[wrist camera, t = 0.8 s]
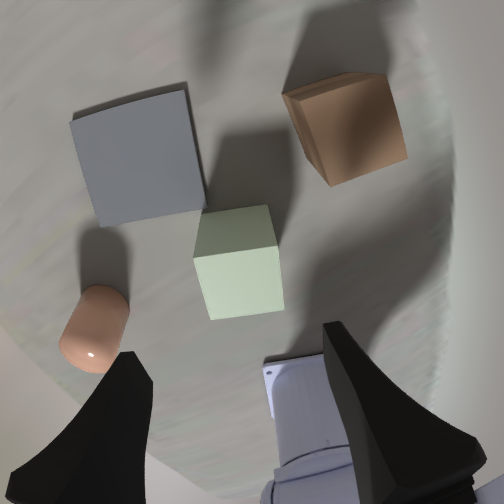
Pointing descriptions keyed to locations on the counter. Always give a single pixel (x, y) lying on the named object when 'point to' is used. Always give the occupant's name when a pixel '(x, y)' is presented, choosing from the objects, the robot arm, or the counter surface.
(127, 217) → the slate coaster
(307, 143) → the walnut block
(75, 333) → the terracotta cylinder
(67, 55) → the counter surface
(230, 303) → the sage block
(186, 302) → the counter surface
